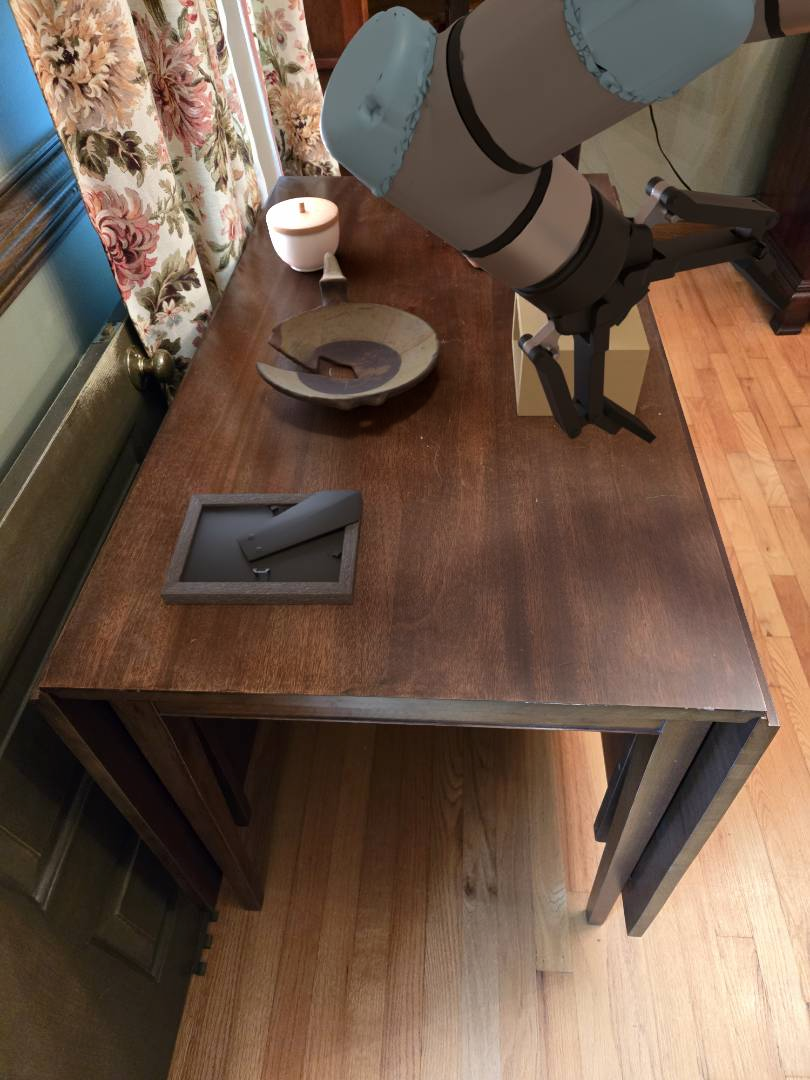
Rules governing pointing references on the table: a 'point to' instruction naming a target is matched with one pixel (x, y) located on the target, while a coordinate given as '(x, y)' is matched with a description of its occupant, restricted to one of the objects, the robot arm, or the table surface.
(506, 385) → the table surface
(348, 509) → the picture frame
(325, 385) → the grey frying pan
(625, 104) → the robot arm
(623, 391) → the tan cardboard box
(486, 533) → the table surface
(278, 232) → the white lidded sugar bowl
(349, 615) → the table surface
